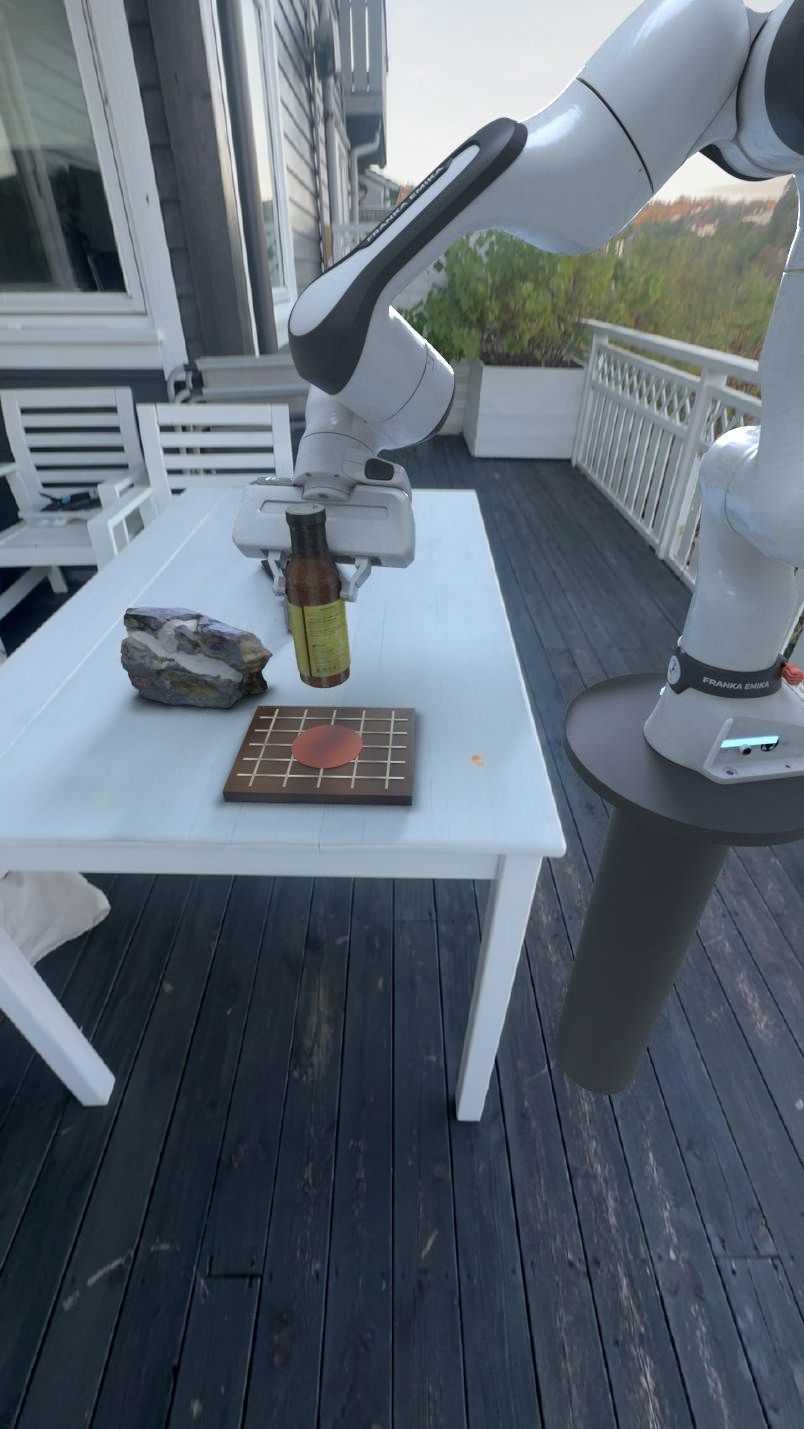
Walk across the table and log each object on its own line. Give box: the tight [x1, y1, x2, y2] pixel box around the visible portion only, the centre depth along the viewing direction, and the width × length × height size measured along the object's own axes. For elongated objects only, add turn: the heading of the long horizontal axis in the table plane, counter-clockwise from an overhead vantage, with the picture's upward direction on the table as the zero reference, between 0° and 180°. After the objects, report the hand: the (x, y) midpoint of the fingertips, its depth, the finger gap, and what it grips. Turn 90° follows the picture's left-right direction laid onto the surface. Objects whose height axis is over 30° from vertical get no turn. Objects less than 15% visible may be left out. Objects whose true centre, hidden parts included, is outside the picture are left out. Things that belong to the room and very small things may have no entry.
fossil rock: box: [120, 606, 273, 709], centre depth 89 cm, size 20×9×15 cm, turn 76°
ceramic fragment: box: [283, 597, 292, 632], centre depth 113 cm, size 14×5×4 cm, turn 11°
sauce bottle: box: [285, 503, 352, 689], centre depth 68 cm, size 6×6×20 cm
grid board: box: [222, 704, 416, 806], centre depth 80 cm, size 22×18×2 cm
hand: (314, 597), depth 67 cm, fingers closed on sauce bottle, 6 cm apart
